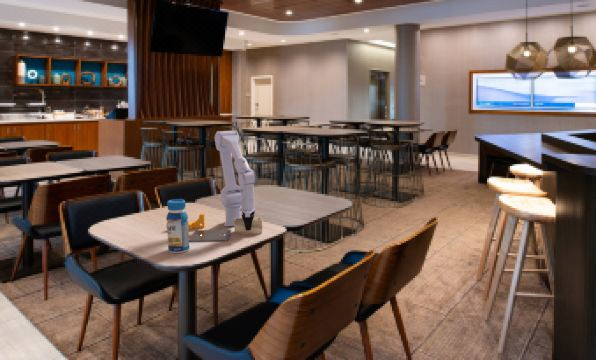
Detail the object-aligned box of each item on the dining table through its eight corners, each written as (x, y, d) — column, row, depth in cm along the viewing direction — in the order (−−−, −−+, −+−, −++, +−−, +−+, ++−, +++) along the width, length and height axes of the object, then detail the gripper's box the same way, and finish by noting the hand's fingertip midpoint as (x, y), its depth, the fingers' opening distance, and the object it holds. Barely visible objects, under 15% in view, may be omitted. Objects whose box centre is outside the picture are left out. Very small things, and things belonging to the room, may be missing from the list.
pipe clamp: (177, 230, 202) (176, 216, 201) (178, 227, 207) (178, 213, 206) (203, 229, 203) (203, 215, 202) (204, 226, 208) (204, 213, 206)
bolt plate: (195, 231, 199) (195, 230, 199) (231, 231, 200) (231, 229, 200) (189, 241, 185) (189, 240, 185) (227, 241, 186) (227, 239, 186)
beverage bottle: (193, 251, 175) (190, 201, 171) (172, 255, 170) (169, 204, 166) (185, 245, 181) (182, 197, 178) (164, 249, 177) (161, 200, 173)
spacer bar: (235, 231, 200) (234, 217, 199) (262, 230, 201) (261, 216, 199) (234, 233, 196) (234, 219, 195) (262, 233, 197) (261, 219, 196)
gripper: (239, 195, 202) (240, 224, 205) (237, 202, 188) (238, 233, 191) (255, 195, 203) (255, 223, 205) (254, 202, 189) (255, 233, 191)
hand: (248, 228), depth 198 cm, fingers closed on spacer bar, 4 cm apart
